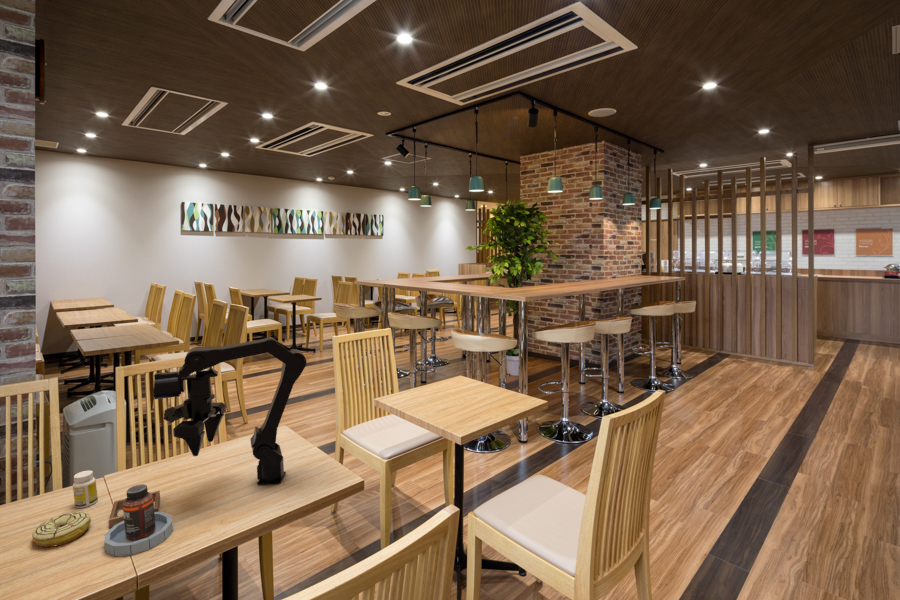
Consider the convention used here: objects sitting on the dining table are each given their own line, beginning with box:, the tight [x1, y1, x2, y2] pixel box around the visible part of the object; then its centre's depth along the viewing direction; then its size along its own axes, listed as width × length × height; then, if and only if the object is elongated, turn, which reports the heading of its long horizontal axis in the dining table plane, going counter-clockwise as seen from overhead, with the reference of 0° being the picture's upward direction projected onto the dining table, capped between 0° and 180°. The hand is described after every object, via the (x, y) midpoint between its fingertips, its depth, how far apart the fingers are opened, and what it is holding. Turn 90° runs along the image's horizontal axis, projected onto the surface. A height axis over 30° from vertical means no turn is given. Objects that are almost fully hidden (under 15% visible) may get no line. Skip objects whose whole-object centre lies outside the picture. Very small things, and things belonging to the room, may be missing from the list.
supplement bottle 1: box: [72, 470, 99, 509], centre depth 120 cm, size 5×5×8 cm
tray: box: [108, 490, 161, 530], centre depth 116 cm, size 10×10×2 cm
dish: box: [103, 511, 174, 557], centre depth 106 cm, size 13×13×2 cm
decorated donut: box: [31, 511, 92, 547], centre depth 107 cm, size 10×11×4 cm
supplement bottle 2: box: [122, 484, 156, 540], centre depth 106 cm, size 6×6×11 cm
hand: (203, 448), depth 124 cm, fingers open, 9 cm apart
